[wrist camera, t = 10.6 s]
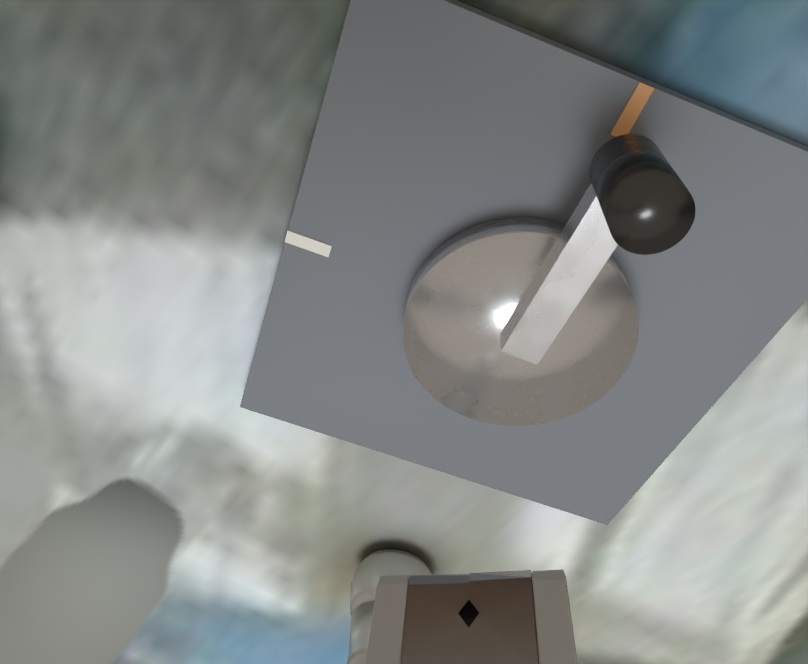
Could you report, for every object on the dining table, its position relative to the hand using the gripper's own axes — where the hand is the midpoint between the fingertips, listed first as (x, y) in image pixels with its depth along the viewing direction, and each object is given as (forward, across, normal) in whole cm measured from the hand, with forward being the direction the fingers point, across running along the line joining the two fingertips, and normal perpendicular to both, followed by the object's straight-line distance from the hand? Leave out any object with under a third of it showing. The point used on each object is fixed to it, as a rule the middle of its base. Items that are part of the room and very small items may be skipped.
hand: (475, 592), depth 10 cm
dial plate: (+25, -1, +10) cm, 27 cm away
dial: (+23, -3, +8) cm, 24 cm away
